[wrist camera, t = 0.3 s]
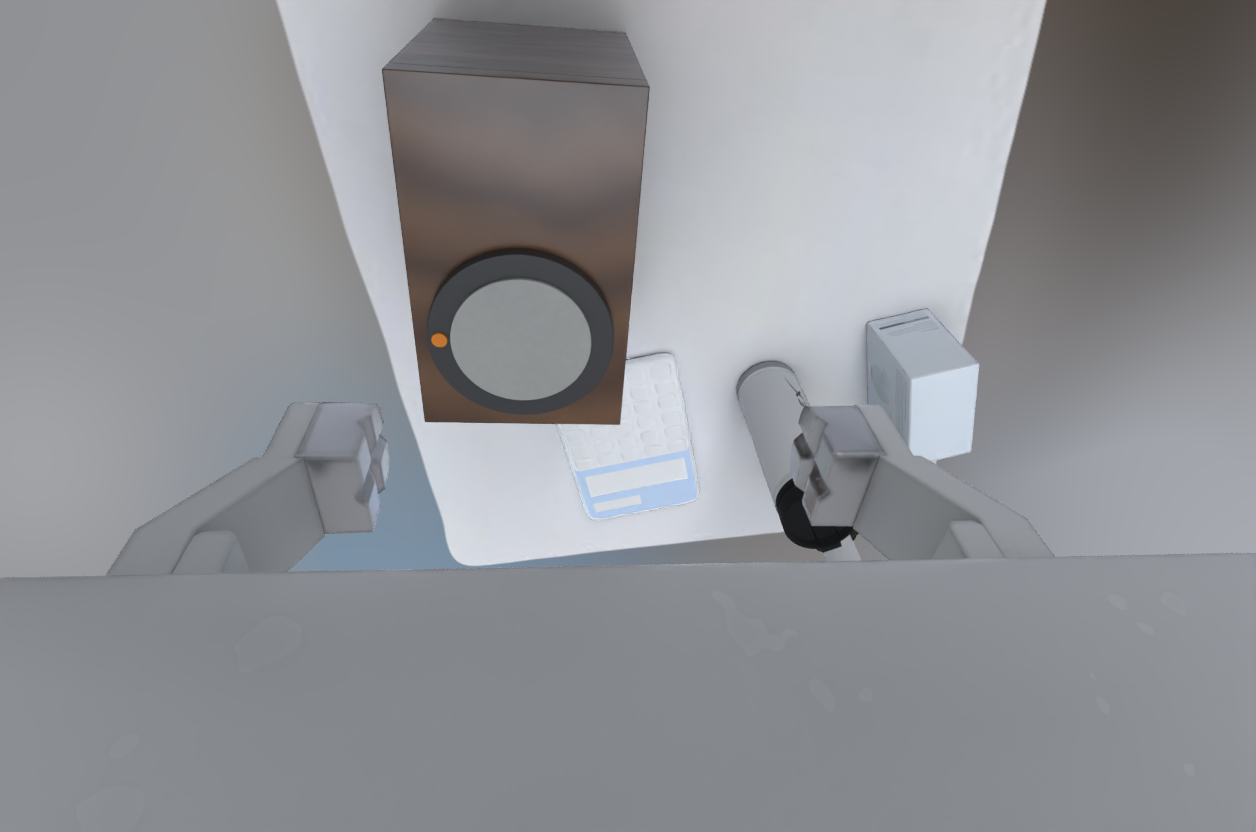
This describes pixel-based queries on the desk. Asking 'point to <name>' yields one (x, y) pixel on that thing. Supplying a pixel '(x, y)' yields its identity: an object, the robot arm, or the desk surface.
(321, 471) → the robot arm
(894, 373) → the cosmetics box
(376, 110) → the desk surface
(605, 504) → the calculator
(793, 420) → the travel mug
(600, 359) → the hot plate
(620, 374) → the desk shelf
